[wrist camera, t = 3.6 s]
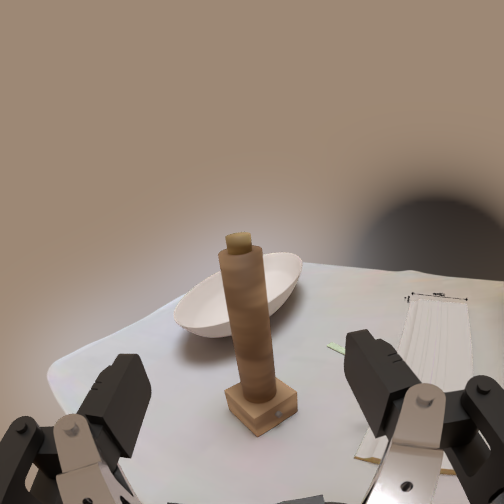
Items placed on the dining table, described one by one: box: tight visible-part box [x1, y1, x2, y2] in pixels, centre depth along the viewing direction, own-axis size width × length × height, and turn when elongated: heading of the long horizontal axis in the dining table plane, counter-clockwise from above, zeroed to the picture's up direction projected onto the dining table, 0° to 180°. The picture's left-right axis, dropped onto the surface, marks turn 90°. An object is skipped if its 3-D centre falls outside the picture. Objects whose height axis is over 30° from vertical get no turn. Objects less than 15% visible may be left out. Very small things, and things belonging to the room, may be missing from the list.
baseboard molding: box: [354, 293, 473, 475], centre depth 26 cm, size 31×3×12 cm
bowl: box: [174, 252, 302, 338], centre depth 45 cm, size 30×15×6 cm, turn 150°
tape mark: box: [327, 342, 345, 355], centre depth 32 cm, size 1×6×1 cm, turn 35°
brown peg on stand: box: [218, 232, 298, 437], centre depth 22 cm, size 5×5×18 cm
